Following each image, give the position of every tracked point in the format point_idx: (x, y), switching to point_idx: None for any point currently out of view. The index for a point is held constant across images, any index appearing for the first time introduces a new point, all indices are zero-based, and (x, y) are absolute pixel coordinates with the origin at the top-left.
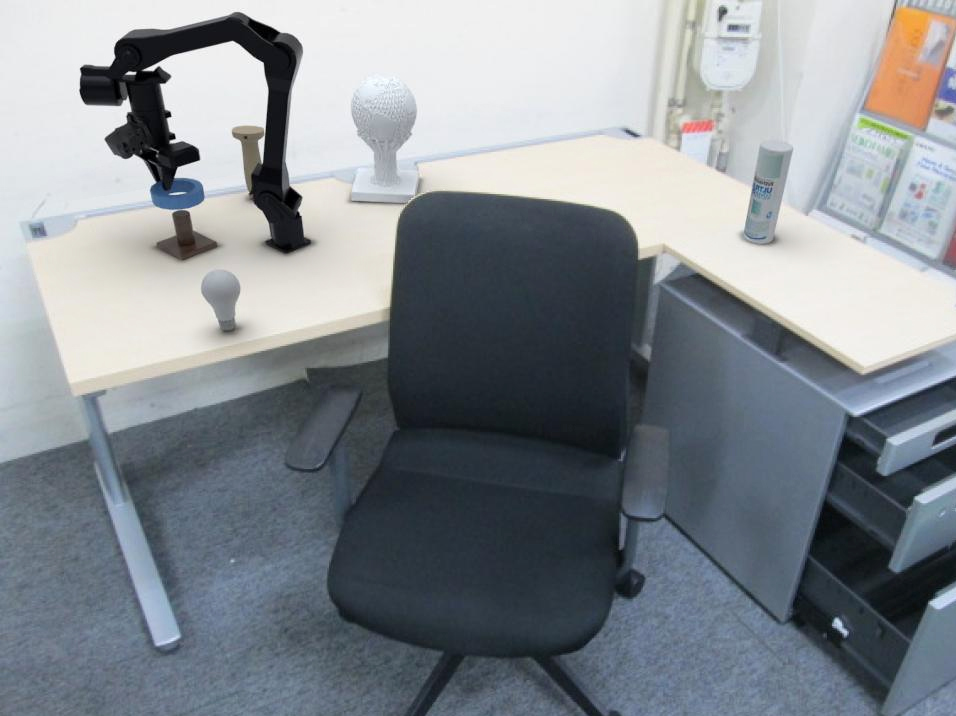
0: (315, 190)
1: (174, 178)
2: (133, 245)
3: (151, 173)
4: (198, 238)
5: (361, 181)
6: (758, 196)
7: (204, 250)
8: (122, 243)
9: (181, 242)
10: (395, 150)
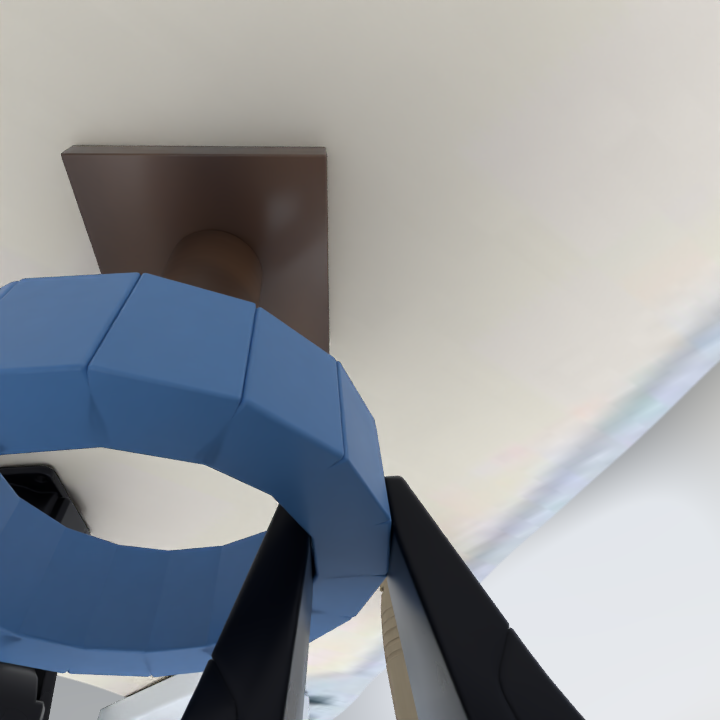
0: (323, 641)
1: (345, 614)
2: (454, 62)
3: (476, 602)
4: None
5: None
6: None
7: None
8: (531, 28)
9: (187, 241)
10: None
